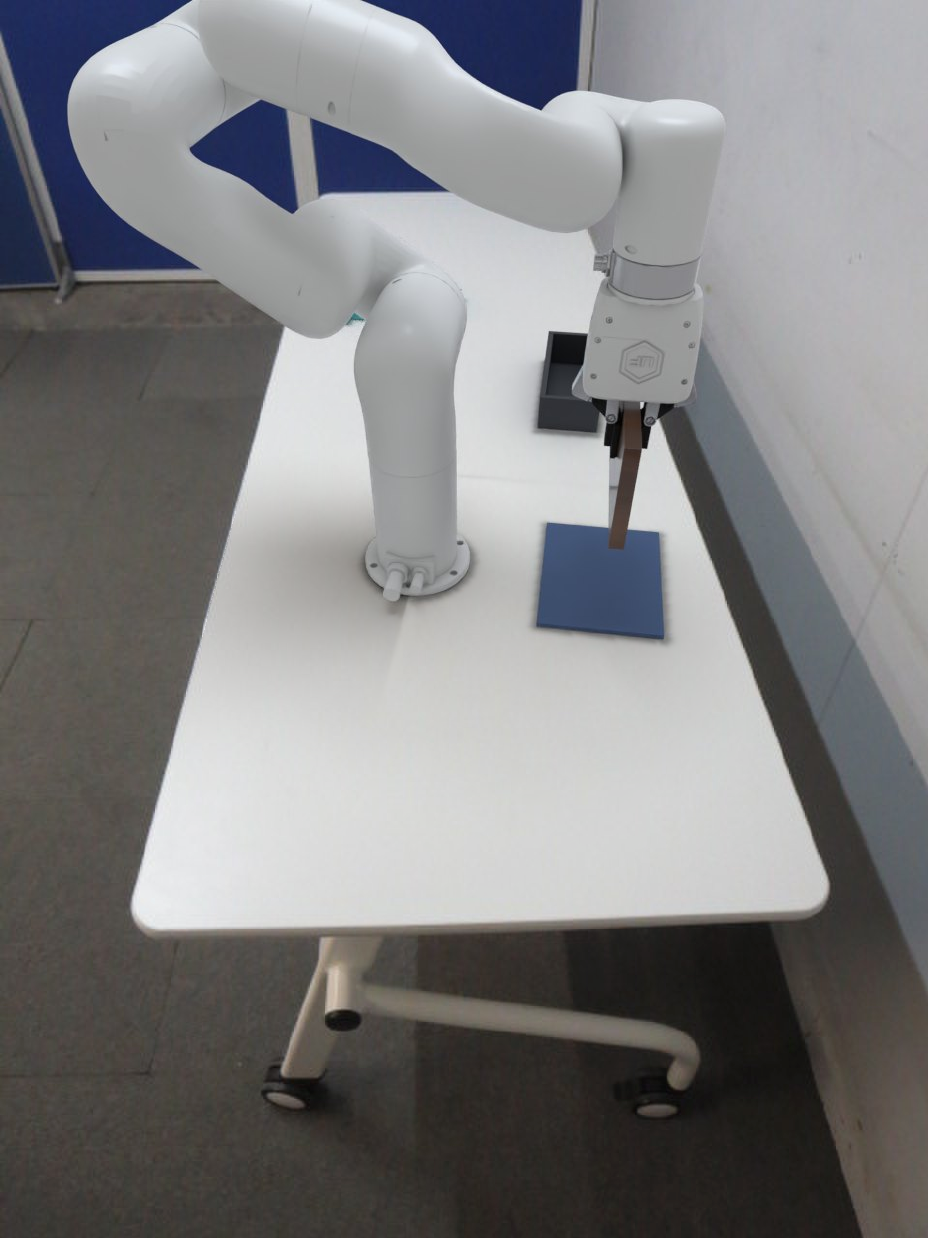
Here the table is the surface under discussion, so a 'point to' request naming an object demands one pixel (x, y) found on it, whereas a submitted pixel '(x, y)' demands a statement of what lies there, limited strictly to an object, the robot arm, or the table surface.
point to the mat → (601, 582)
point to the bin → (564, 386)
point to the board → (624, 474)
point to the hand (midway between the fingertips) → (624, 450)
